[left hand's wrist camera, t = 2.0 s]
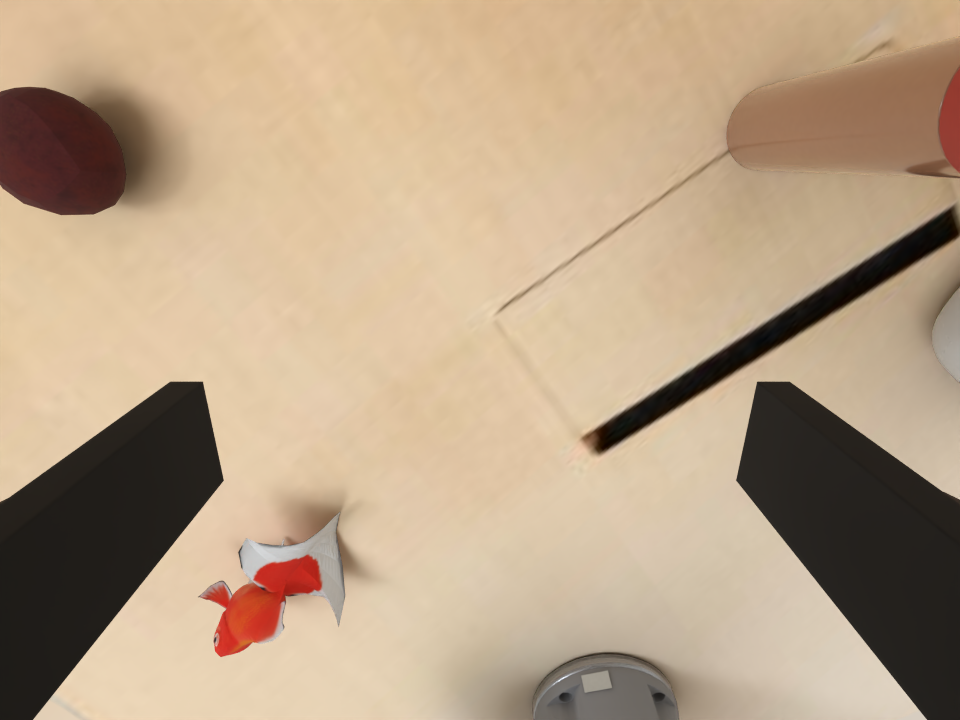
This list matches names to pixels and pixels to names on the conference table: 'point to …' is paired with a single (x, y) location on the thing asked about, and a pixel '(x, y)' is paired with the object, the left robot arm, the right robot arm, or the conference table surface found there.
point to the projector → (948, 336)
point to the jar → (852, 118)
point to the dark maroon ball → (58, 153)
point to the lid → (951, 123)
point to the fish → (276, 587)
